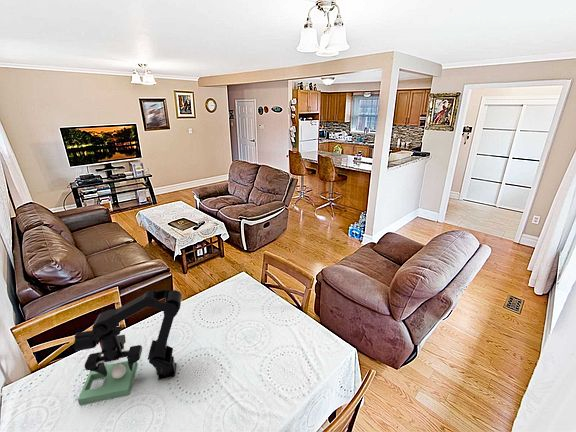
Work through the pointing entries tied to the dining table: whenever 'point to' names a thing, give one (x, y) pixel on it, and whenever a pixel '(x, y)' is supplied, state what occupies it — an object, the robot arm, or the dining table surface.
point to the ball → (118, 371)
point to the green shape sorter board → (108, 385)
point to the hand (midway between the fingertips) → (119, 372)
